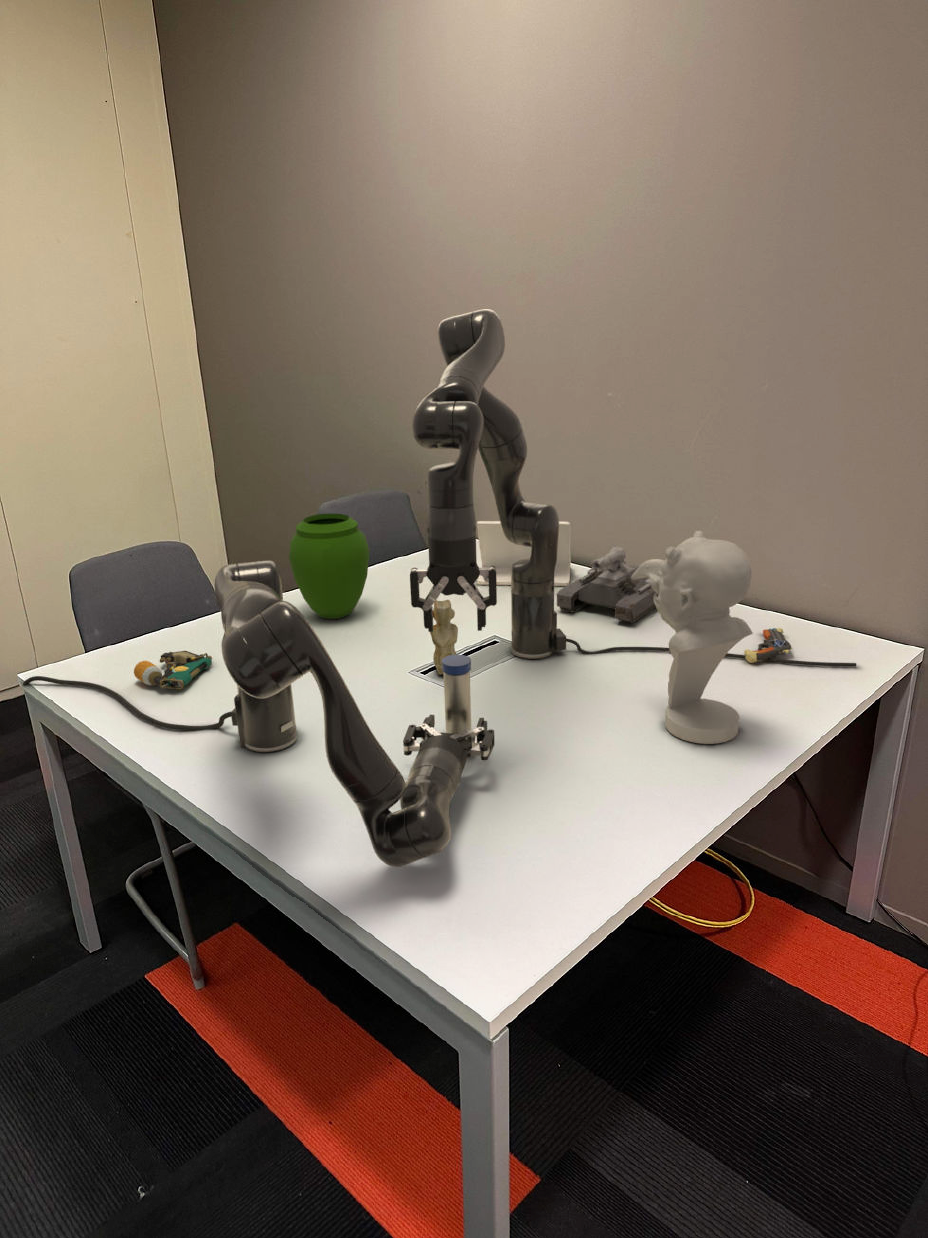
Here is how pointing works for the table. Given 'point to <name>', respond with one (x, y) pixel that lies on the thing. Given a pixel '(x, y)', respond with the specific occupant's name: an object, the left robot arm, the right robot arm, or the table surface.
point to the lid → (456, 664)
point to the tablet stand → (518, 553)
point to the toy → (610, 589)
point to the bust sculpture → (699, 629)
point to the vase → (329, 563)
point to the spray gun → (172, 669)
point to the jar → (457, 702)
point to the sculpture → (443, 632)
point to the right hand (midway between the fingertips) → (455, 629)
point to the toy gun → (769, 646)
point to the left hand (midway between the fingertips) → (457, 720)
